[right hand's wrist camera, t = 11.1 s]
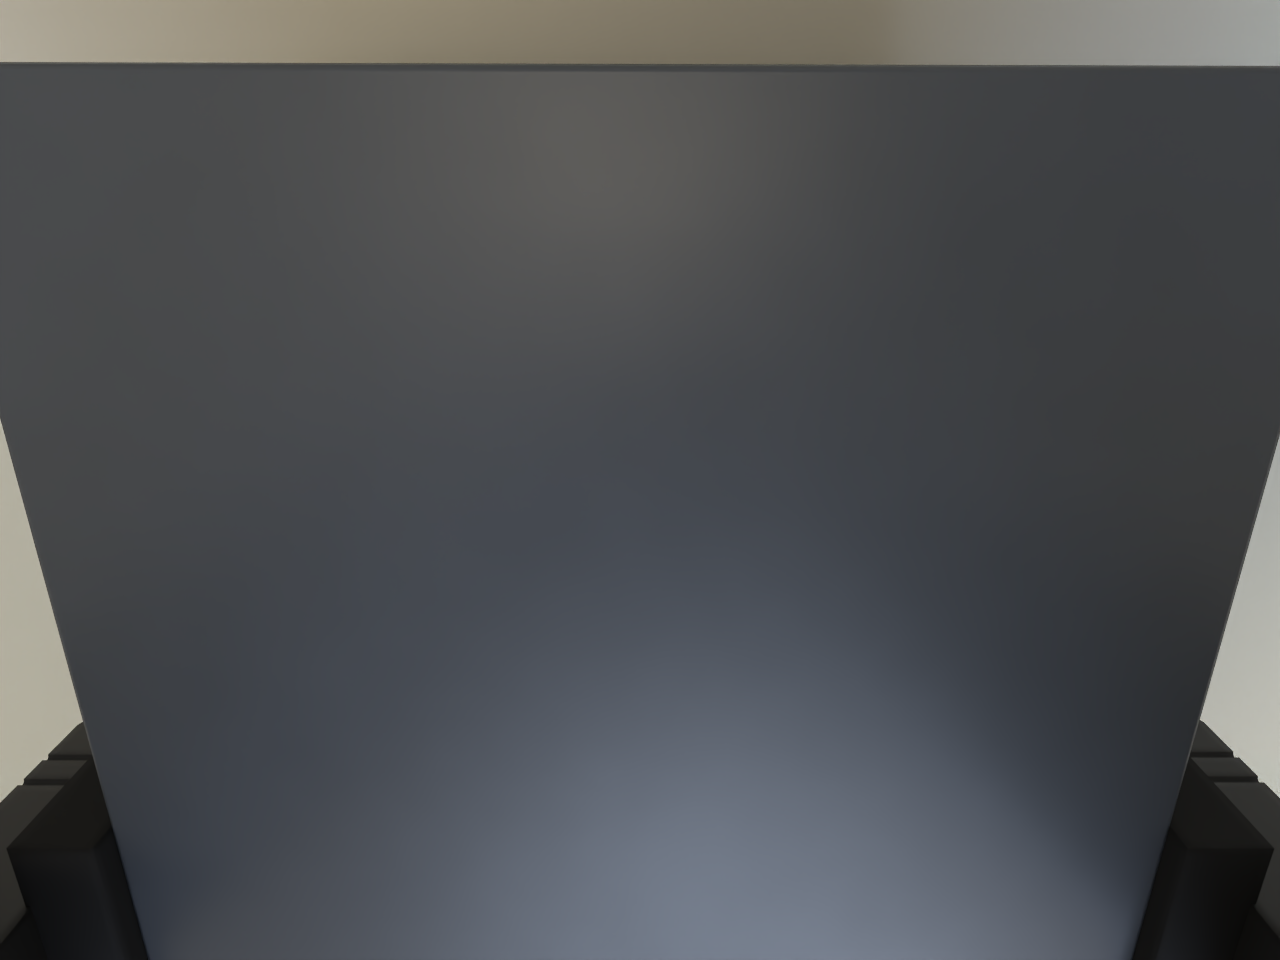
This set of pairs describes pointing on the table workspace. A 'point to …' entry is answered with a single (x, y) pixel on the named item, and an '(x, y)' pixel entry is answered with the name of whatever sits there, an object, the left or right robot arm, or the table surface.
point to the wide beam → (640, 492)
